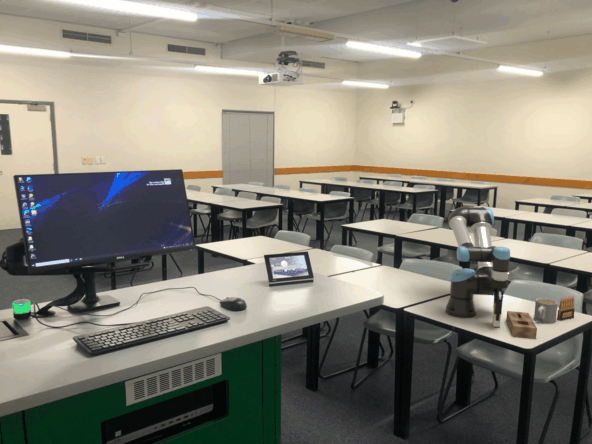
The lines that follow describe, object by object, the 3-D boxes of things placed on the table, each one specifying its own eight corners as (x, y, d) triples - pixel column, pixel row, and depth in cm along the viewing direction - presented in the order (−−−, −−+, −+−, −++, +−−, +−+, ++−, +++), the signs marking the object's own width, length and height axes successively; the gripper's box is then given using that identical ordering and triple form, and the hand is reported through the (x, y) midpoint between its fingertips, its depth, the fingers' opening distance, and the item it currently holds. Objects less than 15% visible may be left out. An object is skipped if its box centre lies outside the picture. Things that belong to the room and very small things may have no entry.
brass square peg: (492, 326, 246) (494, 303, 244) (492, 324, 249) (493, 301, 247) (499, 327, 245) (501, 303, 243) (499, 325, 248) (500, 301, 246)
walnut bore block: (512, 336, 234) (513, 326, 233) (506, 320, 255) (507, 310, 254) (536, 338, 231) (536, 328, 230) (527, 322, 252) (528, 312, 251)
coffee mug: (541, 315, 262) (543, 297, 261) (559, 321, 254) (561, 302, 252) (525, 319, 256) (527, 301, 254) (544, 326, 247) (545, 306, 246)
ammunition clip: (570, 316, 261) (572, 294, 259) (573, 317, 259) (576, 295, 257) (556, 319, 256) (559, 297, 254) (560, 321, 255) (562, 298, 253)
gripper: (510, 284, 234) (506, 331, 238) (505, 275, 250) (502, 320, 253) (493, 282, 236) (489, 330, 240) (489, 274, 252) (486, 318, 255)
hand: (496, 324), depth 247 cm, fingers closed on brass square peg, 3 cm apart
